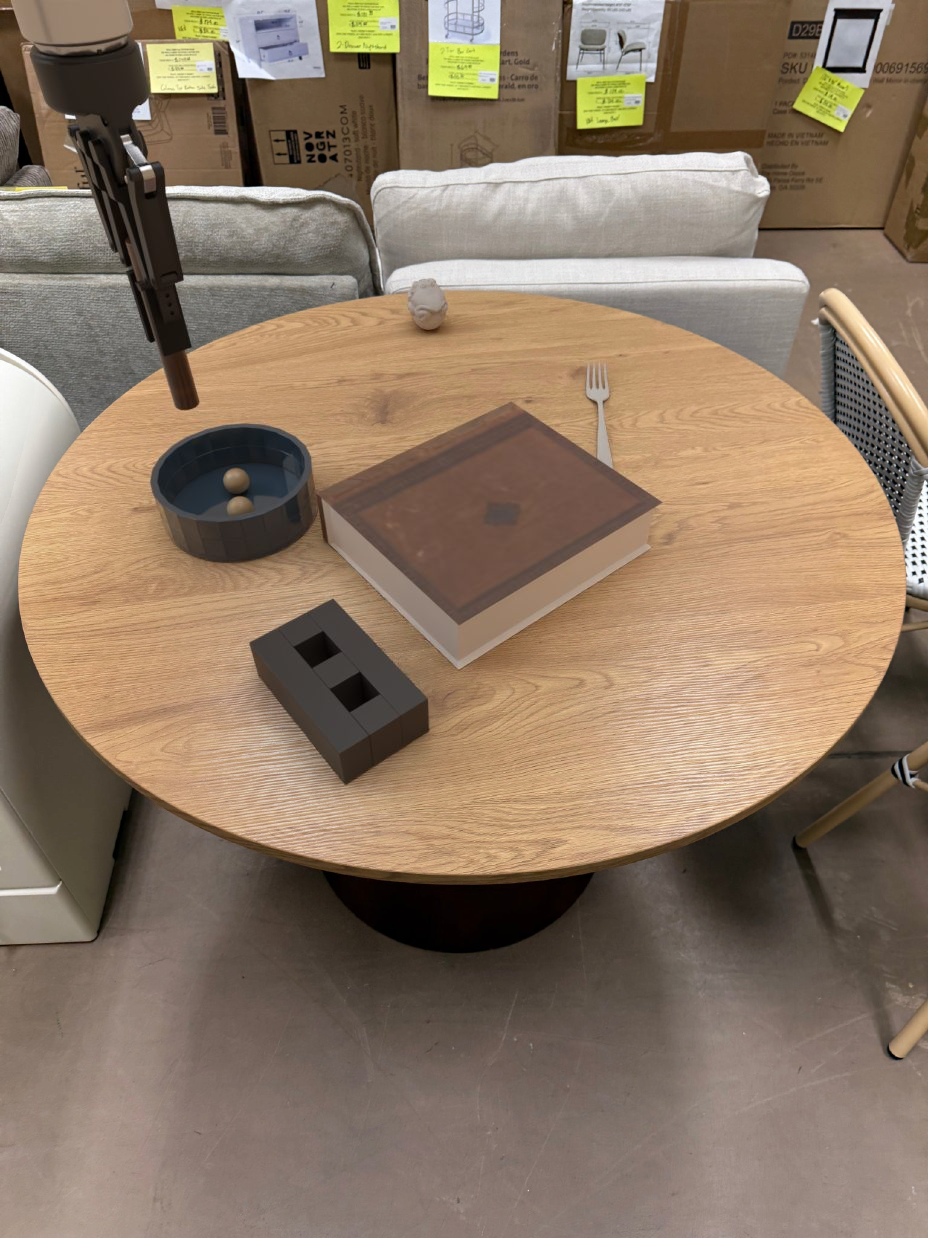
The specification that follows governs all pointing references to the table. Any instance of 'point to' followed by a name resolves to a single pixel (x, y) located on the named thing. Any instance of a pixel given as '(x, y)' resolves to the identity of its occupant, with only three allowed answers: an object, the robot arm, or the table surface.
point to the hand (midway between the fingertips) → (169, 342)
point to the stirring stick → (172, 359)
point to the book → (486, 528)
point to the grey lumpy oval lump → (427, 303)
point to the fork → (600, 412)
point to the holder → (341, 689)
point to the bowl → (200, 498)
